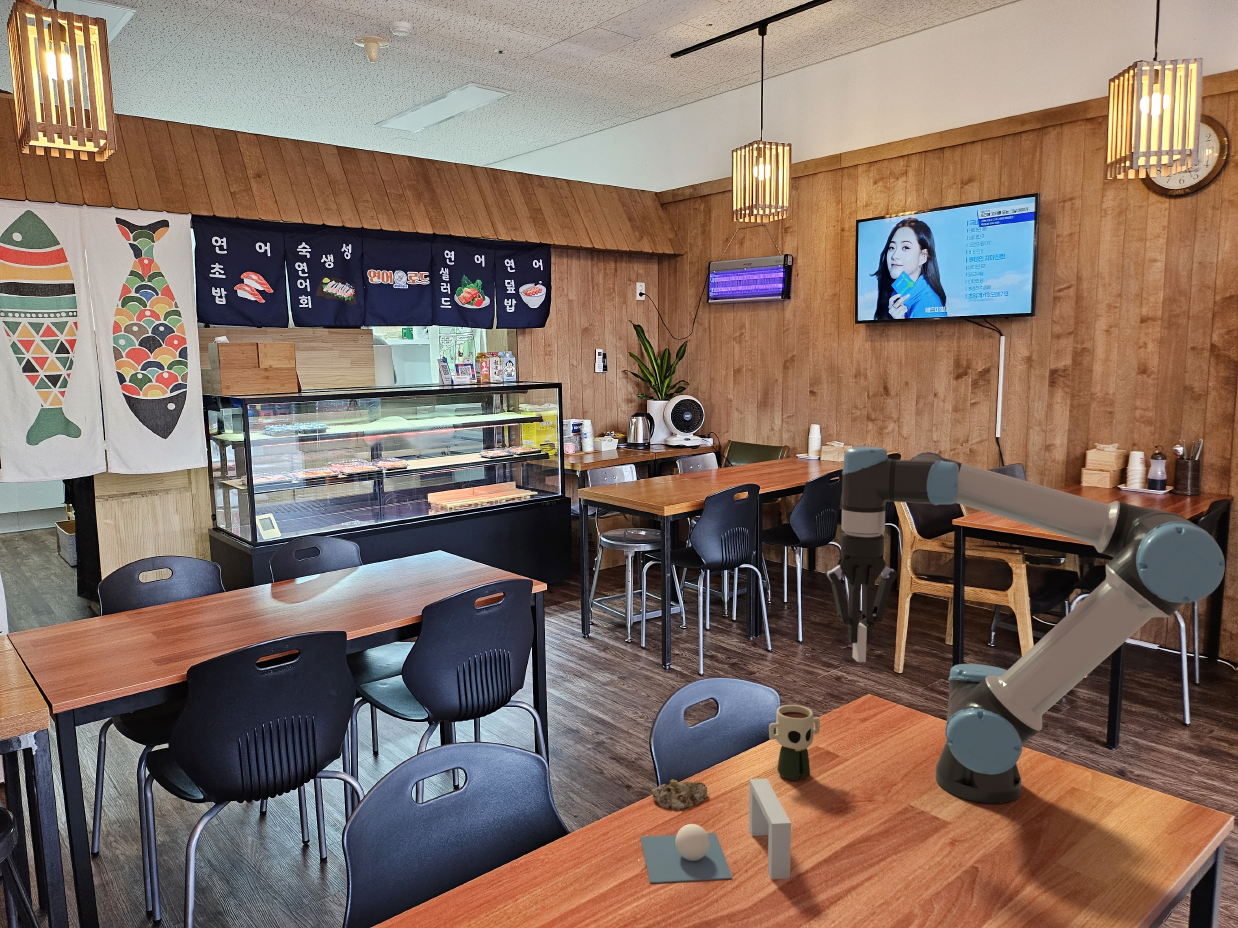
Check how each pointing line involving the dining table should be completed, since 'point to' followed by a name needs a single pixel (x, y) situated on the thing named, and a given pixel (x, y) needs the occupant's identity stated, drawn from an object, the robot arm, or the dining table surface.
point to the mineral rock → (680, 794)
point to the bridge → (770, 826)
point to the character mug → (794, 739)
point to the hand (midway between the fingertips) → (859, 659)
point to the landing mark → (682, 861)
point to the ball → (692, 842)
